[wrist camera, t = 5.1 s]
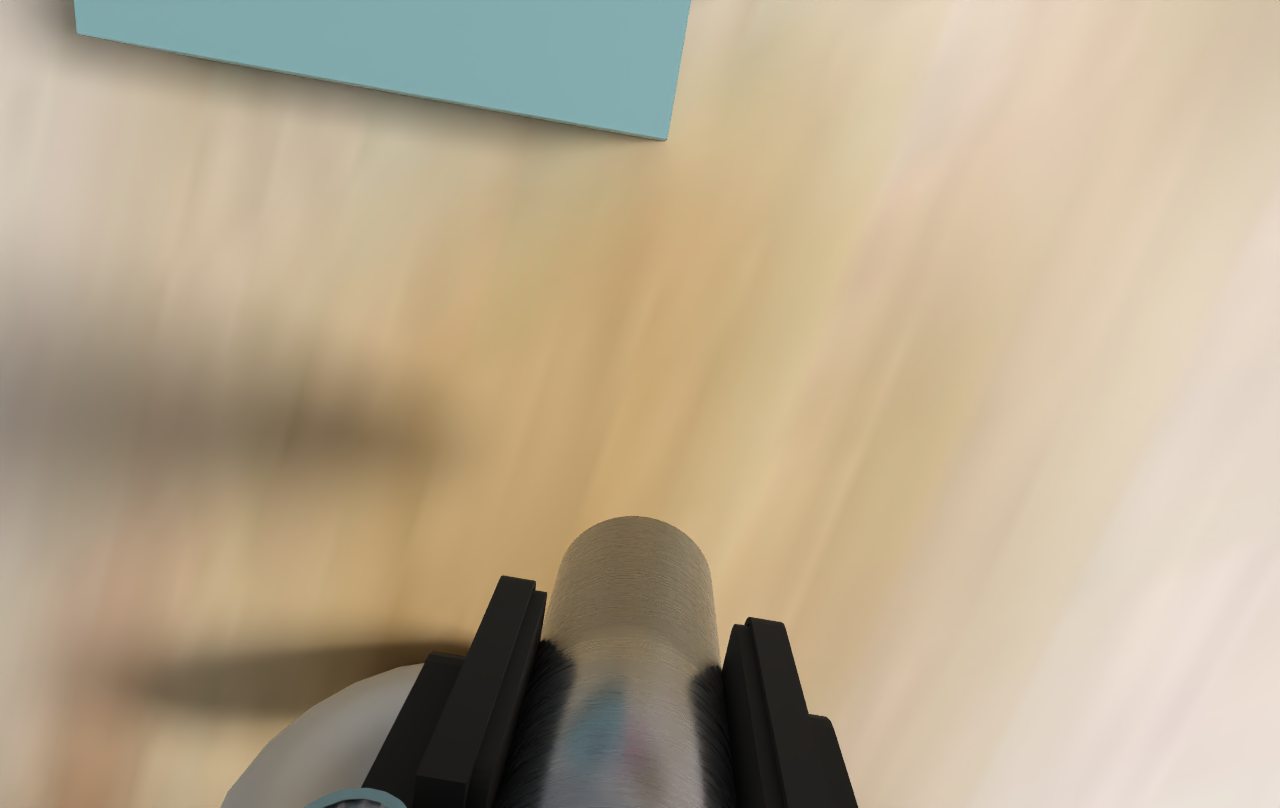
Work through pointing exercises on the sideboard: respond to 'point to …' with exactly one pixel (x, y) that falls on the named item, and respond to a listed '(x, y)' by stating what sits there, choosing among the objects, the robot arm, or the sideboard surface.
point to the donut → (325, 745)
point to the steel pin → (625, 681)
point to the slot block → (438, 49)
